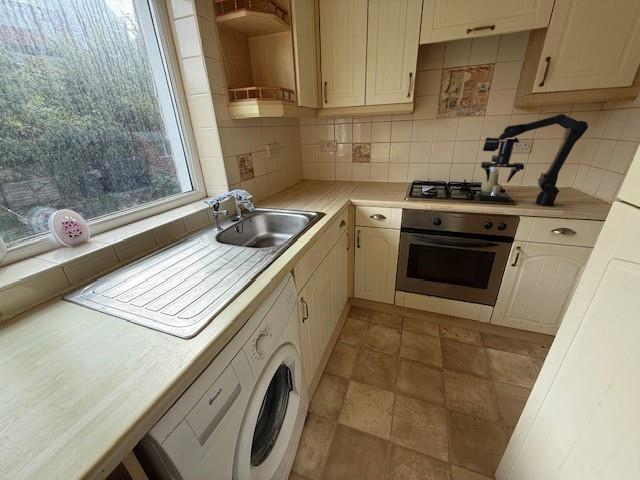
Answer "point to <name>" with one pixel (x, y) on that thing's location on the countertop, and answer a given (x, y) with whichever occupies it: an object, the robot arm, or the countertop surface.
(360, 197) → the countertop surface
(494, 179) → the squeeze bottle
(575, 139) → the robot arm
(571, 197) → the countertop surface
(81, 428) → the countertop surface
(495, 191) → the dial
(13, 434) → the countertop surface
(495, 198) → the control panel
